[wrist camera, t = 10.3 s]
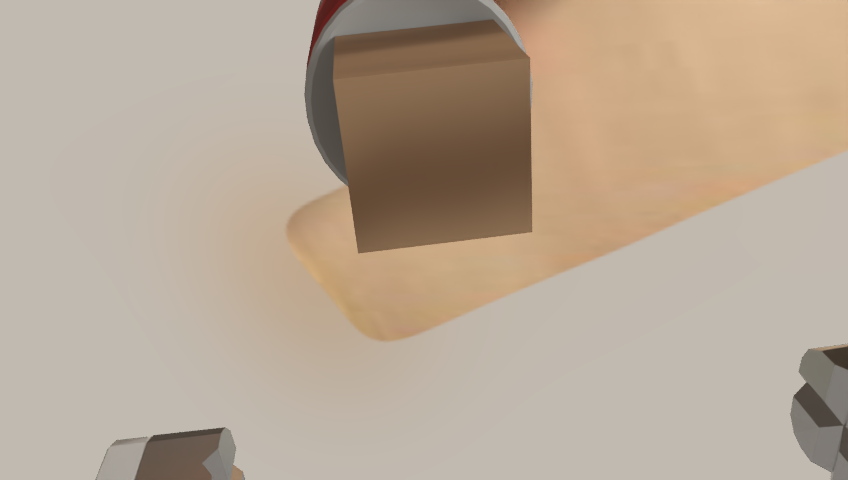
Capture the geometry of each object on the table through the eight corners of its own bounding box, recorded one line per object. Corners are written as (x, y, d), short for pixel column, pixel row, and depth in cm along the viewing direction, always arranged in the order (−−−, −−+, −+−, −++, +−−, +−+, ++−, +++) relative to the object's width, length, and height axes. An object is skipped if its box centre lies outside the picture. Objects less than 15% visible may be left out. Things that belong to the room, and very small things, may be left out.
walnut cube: (334, 36, 22) (332, 79, 18) (493, 19, 22) (529, 58, 18) (355, 183, 25) (358, 253, 20) (498, 166, 25) (532, 231, 20)
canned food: (340, 131, 35) (339, 234, 25) (292, -39, 31) (270, 7, 22) (492, 95, 35) (549, 185, 25) (463, -79, 31) (517, -51, 22)
